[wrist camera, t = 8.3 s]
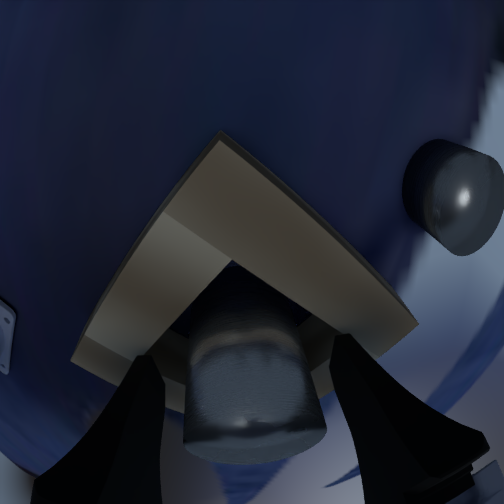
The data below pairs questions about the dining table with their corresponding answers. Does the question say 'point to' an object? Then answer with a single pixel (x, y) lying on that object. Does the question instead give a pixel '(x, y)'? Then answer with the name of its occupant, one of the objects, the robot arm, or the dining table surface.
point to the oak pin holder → (248, 256)
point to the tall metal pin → (247, 375)
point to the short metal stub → (454, 194)
